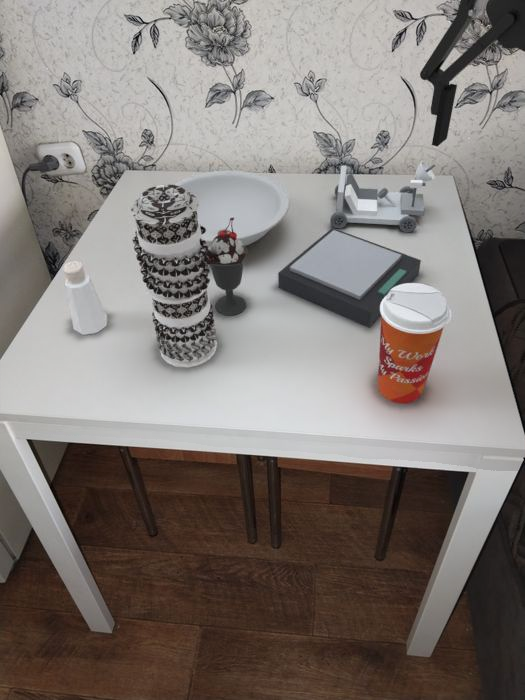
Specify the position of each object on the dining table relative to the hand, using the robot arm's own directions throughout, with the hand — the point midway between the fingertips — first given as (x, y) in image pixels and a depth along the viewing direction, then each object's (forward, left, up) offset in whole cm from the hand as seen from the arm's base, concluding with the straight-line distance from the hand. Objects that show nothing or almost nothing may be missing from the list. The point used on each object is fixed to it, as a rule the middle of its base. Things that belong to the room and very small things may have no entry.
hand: (492, 155), depth 70 cm
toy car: (+24, -21, -27) cm, 42 cm away
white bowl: (+44, +1, -27) cm, 51 cm away
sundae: (+30, +16, -27) cm, 43 cm away
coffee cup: (0, +16, -27) cm, 31 cm away
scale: (+18, 0, -27) cm, 32 cm away
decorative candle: (+29, +27, -27) cm, 48 cm away
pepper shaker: (+45, +32, -27) cm, 61 cm away
